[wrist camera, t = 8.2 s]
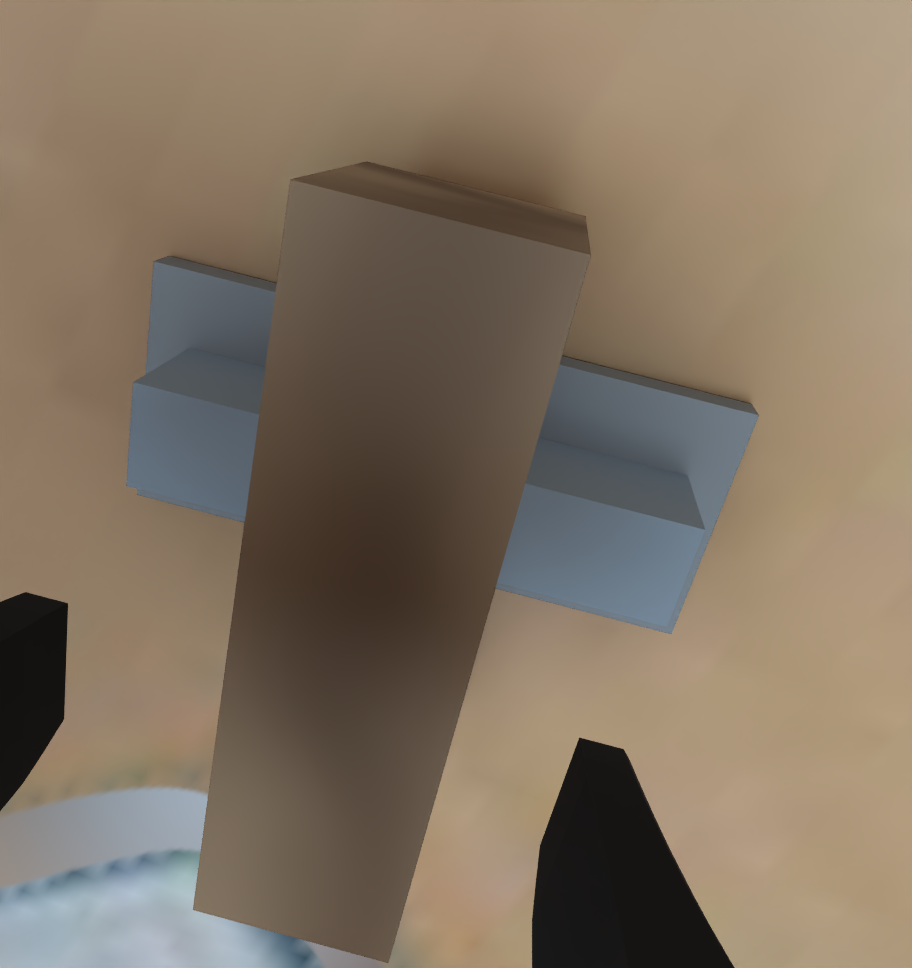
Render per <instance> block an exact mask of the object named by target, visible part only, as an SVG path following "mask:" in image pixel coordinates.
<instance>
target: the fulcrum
mask: <svg viewBox="0 0 912 968" xmlns="http://www.w3.org/2000/svg"><path fill="white" fill-rule="evenodd" d="M276 285H277V283H274V282H270V281H266V280H262V279H258V278H254V277H250V276H246V275H242V274H238V273H234V272H230V271H226V270H222V269H218V268H215V267H211V266H207V265H203V264H199V263H195V262H191V261H187V260H183V259H179V258H175V257H171V256H167V257H165V258H162V259H159V260H156V261H154V265H153V279H152V293H151V307H150V321H149V335H148V349H147V363H146V375H144V376H143V377H141V378H139V379H138V380H136V381H134V382H133V392H132V408H131V423H130V438H129V453H128V469H127V484H126V486H129V487H133V488H136V489H137V495H140V496H144V497H148V498H152V499H156V500H160V501H163V502H167V503H171V504H175V505H179V506H183V507H186V508H190V509H194V510H198V511H202V512H206V513H209V514H213V515H217V516H221V517H225V518H229V519H232V520H236V521H240V522H244V523H245V517H246V509H247V502H248V494H249V487H250V479H251V472H252V464H253V457H254V449H255V442H256V434H257V427H258V419H259V412H260V404H261V397H262V389H263V382H264V374H265V367H266V359H267V352H268V344H269V337H270V329H271V322H272V314H273V307H274V300H275V292H276ZM758 416H759V415H758V413H757V412H756V410H755V408H754V407H753V405H752V404H749V403H745V402H741V401H737V400H734V399H730V398H726V397H722V396H718V395H714V394H710V393H706V392H702V391H698V390H694V389H690V388H686V387H682V386H679V385H675V384H671V383H667V382H663V381H659V380H655V379H651V378H647V377H643V376H639V375H635V374H631V373H627V372H623V371H620V370H616V369H612V368H608V367H604V366H600V365H596V364H592V363H588V362H584V361H580V360H576V359H572V358H568V357H564V356H562V357H561V361H560V364H559V368H558V371H557V375H556V378H555V381H554V385H553V388H552V392H551V395H550V399H549V402H548V406H547V409H546V413H545V416H544V420H543V423H542V427H541V430H540V434H539V437H538V441H537V444H536V448H535V451H534V455H533V458H532V462H531V465H530V469H529V472H528V476H527V479H526V483H525V486H524V490H523V493H522V497H521V500H520V504H519V507H518V511H517V514H516V518H515V521H514V525H513V528H512V532H511V535H510V539H509V542H508V546H507V549H506V553H505V556H504V560H503V563H502V567H501V570H500V574H499V577H498V581H497V584H496V589H500V590H504V591H508V592H512V593H516V594H519V595H523V596H527V597H531V598H535V599H539V600H542V601H546V602H550V603H554V604H558V605H562V606H565V607H569V608H573V609H577V610H581V611H585V612H588V613H592V614H596V615H600V616H604V617H607V618H611V619H615V620H619V621H623V622H627V623H630V624H634V625H638V626H642V627H646V628H650V629H653V630H657V631H661V632H665V633H669V634H672V631H673V629H674V626H675V624H676V621H677V619H678V616H679V614H680V611H681V609H682V606H683V604H684V601H685V599H686V596H687V594H688V591H689V589H690V586H691V584H692V581H693V579H694V576H695V574H696V571H697V569H698V566H699V564H700V561H701V559H702V556H703V554H704V551H705V549H706V546H707V544H708V541H709V539H710V536H711V534H712V531H713V529H714V526H715V524H716V521H717V519H718V516H719V514H720V511H721V509H722V506H723V504H724V501H725V499H726V496H727V494H728V491H729V489H730V486H731V484H732V481H733V479H734V476H735V474H736V471H737V469H738V466H739V464H740V461H741V459H742V456H743V454H744V451H745V449H746V446H747V444H748V441H749V439H750V436H751V434H752V431H753V429H754V426H755V424H756V421H757V419H758Z"/></svg>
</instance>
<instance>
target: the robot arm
mask: <svg viewBox="0 0 912 968" xmlns="http://www.w3.org/2000/svg"><path fill="white" fill-rule="evenodd" d="M67 615H68V603H64V602H61V601H57V600H53V599H49V598H45V597H42V596H38V595H34V594H30V593H26V592H25V593H22V594H20V595H17V596H14V597H12V598H9V599H7V600H4V601H2V602H0V811H1V809H2V808H3V807H4V806H5V805H6V803H7V802H8V801H9V800H10V799H11V797H12V796H13V795H14V794H15V792H16V791H17V790H18V789H19V787H20V786H21V785H22V784H23V782H24V781H25V779H26V778H27V776H28V775H29V773H30V772H31V770H32V769H33V767H34V766H35V764H36V763H37V761H38V760H39V758H40V757H41V755H42V754H43V752H44V750H45V749H46V747H47V746H48V744H49V742H50V741H51V739H52V738H53V736H54V734H55V733H56V731H57V730H58V728H59V726H60V725H61V723H62V722H63V720H64V704H65V674H66V645H67ZM532 968H734V966H733V965H732V963H731V961H730V960H729V958H728V956H727V954H726V953H725V951H724V949H723V947H722V946H721V944H720V942H719V941H718V939H717V937H716V935H715V934H714V932H713V930H712V928H711V927H710V925H709V923H708V921H707V920H706V918H705V916H704V914H703V912H702V910H701V909H700V907H699V905H698V903H697V901H696V899H695V898H694V896H693V894H692V892H691V890H690V888H689V886H688V884H687V882H686V880H685V878H684V876H683V874H682V872H681V870H680V868H679V866H678V864H677V862H676V860H675V858H674V857H673V855H672V853H671V850H670V848H669V846H668V844H667V842H666V840H665V838H664V836H663V834H662V832H661V830H660V827H659V825H658V823H657V821H656V819H655V817H654V815H653V812H652V810H651V808H650V806H649V804H648V801H647V799H646V797H645V795H644V792H643V790H642V788H641V786H640V783H639V781H638V779H637V776H636V774H635V772H634V769H633V767H632V765H631V762H630V760H629V758H628V756H627V754H626V753H625V751H624V749H621V748H617V747H613V746H609V745H605V744H602V743H598V742H594V741H590V740H586V739H582V738H579V740H578V743H577V746H576V748H575V751H574V754H573V757H572V759H571V762H570V765H569V768H568V770H567V773H566V776H565V779H564V781H563V784H562V787H561V790H560V792H559V795H558V798H557V801H556V803H555V806H554V809H553V812H552V814H551V817H550V820H549V823H548V825H547V828H546V831H545V834H544V836H543V839H542V842H541V845H540V851H539V860H538V869H537V878H536V887H535V897H534V907H533V917H532Z"/></svg>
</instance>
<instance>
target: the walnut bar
mask: <svg viewBox="0 0 912 968" xmlns="http://www.w3.org/2000/svg"><path fill="white" fill-rule="evenodd" d="M590 256H591V254H590V246H589V239H588V231H587V224H586V216H582V215H578V214H574V213H570V212H566V211H562V210H558V209H554V208H550V207H546V206H542V205H538V204H534V203H530V202H526V201H522V200H518V199H514V198H510V197H506V196H502V195H498V194H494V193H490V192H486V191H482V190H478V189H474V188H470V187H466V186H462V185H458V184H454V183H450V182H446V181H442V180H438V179H434V178H430V177H426V176H422V175H418V174H414V173H410V172H406V171H402V170H398V169H394V168H390V167H386V166H382V165H378V164H374V163H370V162H363V163H359V164H355V165H350V166H346V167H342V168H338V169H333V170H329V171H325V172H321V173H316V174H312V175H308V176H303V177H299V178H295V179H291V180H290V187H289V195H288V202H287V210H286V217H285V225H284V232H283V240H282V247H281V255H280V262H279V270H278V277H277V285H276V292H275V300H274V307H273V314H272V322H271V329H270V337H269V344H268V352H267V359H266V367H265V374H264V382H263V389H262V397H261V404H260V412H259V419H258V427H257V434H256V442H255V449H254V457H253V464H252V472H251V479H250V487H249V494H248V502H247V509H246V517H245V524H244V532H243V539H242V546H241V554H240V561H239V569H238V576H237V584H236V591H235V599H234V606H233V614H232V621H231V629H230V636H229V644H228V651H227V659H226V666H225V674H224V681H223V689H222V696H221V704H220V711H219V719H218V726H217V734H216V741H215V749H214V756H213V764H212V771H211V778H210V786H209V793H208V801H207V808H206V816H205V823H204V831H203V838H202V846H201V853H200V861H199V868H198V876H197V883H196V891H195V898H194V906H193V910H195V911H199V912H203V913H206V914H210V915H214V916H217V917H221V918H225V919H228V920H232V921H236V922H239V923H243V924H247V925H250V926H254V927H258V928H261V929H265V930H269V931H273V932H276V933H280V934H284V935H287V936H291V937H295V938H298V939H302V940H306V941H309V942H313V943H317V944H320V945H324V946H328V947H331V948H335V949H339V950H342V951H346V952H350V953H353V954H357V955H361V956H364V957H368V958H372V959H375V960H379V961H383V962H386V963H388V962H389V959H390V955H391V952H392V948H393V945H394V941H395V938H396V934H397V931H398V927H399V924H400V920H401V917H402V913H403V910H404V906H405V903H406V899H407V896H408V892H409V889H410V885H411V882H412V878H413V875H414V871H415V868H416V864H417V861H418V857H419V854H420V850H421V847H422V843H423V840H424V836H425V833H426V829H427V826H428V822H429V819H430V815H431V812H432V808H433V805H434V801H435V798H436V794H437V791H438V787H439V784H440V780H441V777H442V773H443V770H444V766H445V763H446V759H447V756H448V752H449V749H450V745H451V742H452V738H453V735H454V731H455V728H456V724H457V721H458V717H459V714H460V710H461V707H462V703H463V700H464V696H465V693H466V689H467V686H468V682H469V679H470V675H471V672H472V668H473V665H474V661H475V658H476V654H477V651H478V647H479V644H480V640H481V637H482V633H483V630H484V626H485V623H486V619H487V616H488V612H489V609H490V605H491V602H492V598H493V595H494V591H495V588H496V584H497V581H498V577H499V574H500V570H501V567H502V563H503V560H504V556H505V553H506V549H507V546H508V542H509V539H510V535H511V532H512V528H513V525H514V521H515V518H516V514H517V511H518V507H519V504H520V500H521V497H522V493H523V490H524V486H525V483H526V479H527V476H528V472H529V469H530V465H531V462H532V458H533V455H534V451H535V448H536V444H537V441H538V437H539V434H540V430H541V427H542V423H543V420H544V416H545V413H546V409H547V406H548V402H549V399H550V395H551V392H552V388H553V385H554V381H555V378H556V375H557V371H558V368H559V364H560V361H561V357H562V354H563V350H564V347H565V343H566V340H567V336H568V333H569V329H570V326H571V322H572V319H573V315H574V312H575V308H576V305H577V301H578V298H579V294H580V291H581V287H582V284H583V280H584V277H585V273H586V270H587V266H588V263H589V259H590Z"/></svg>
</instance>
